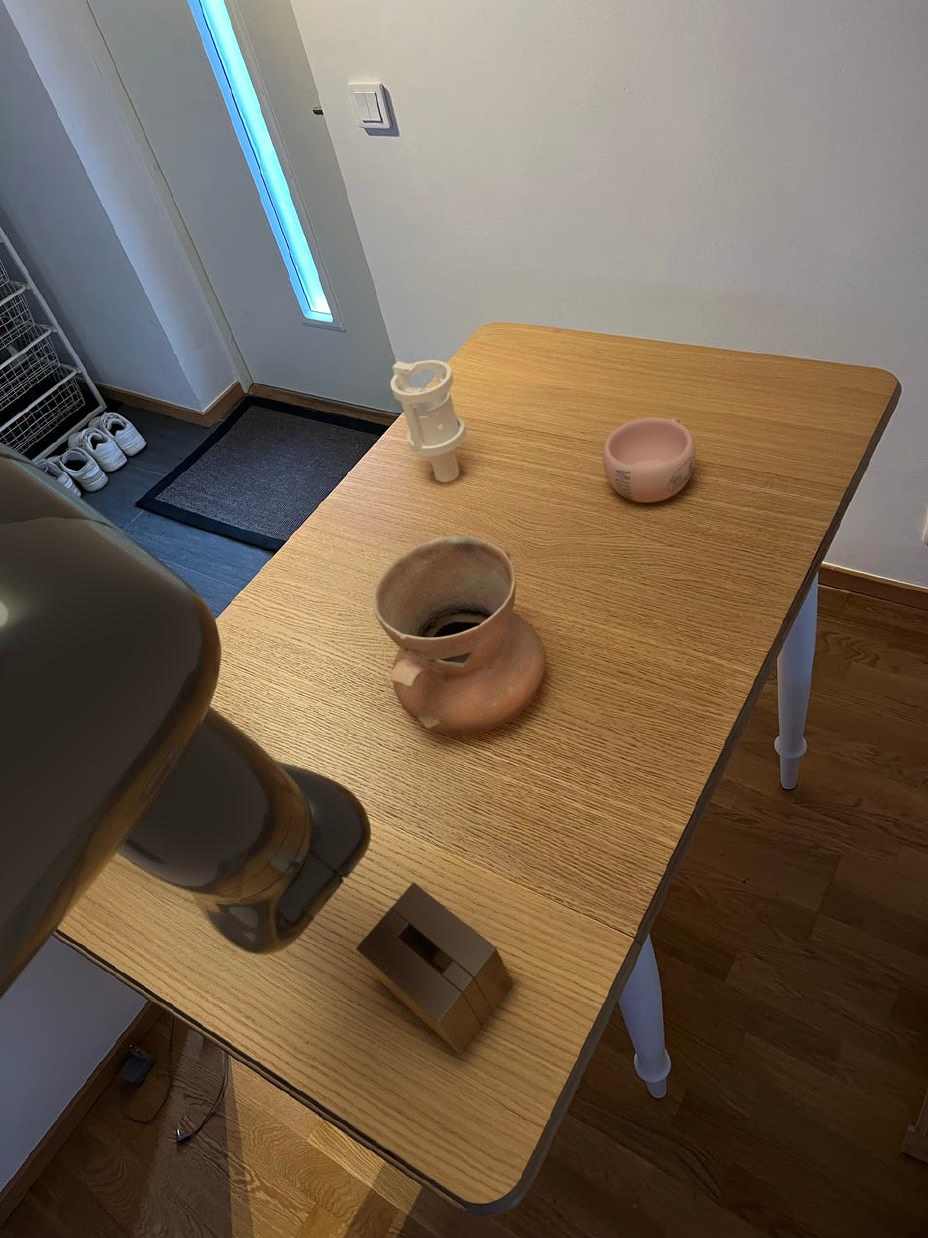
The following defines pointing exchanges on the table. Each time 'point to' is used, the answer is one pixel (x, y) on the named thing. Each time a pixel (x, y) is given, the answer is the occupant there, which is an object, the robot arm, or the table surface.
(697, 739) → the table surface
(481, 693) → the ceramic jug
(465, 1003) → the knife block
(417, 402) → the strainer
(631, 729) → the table surface
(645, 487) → the mug
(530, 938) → the table surface
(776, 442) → the table surface
